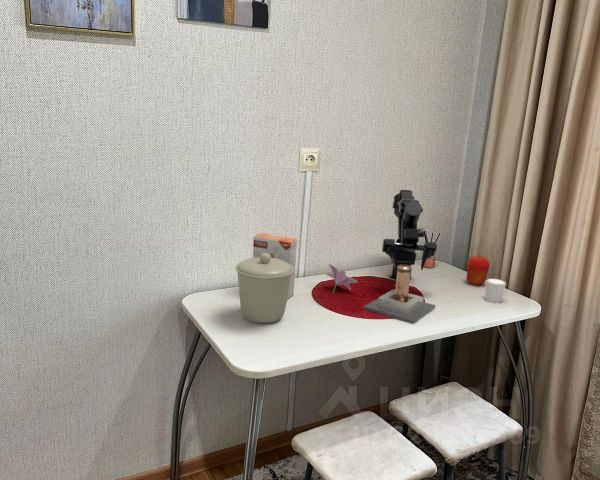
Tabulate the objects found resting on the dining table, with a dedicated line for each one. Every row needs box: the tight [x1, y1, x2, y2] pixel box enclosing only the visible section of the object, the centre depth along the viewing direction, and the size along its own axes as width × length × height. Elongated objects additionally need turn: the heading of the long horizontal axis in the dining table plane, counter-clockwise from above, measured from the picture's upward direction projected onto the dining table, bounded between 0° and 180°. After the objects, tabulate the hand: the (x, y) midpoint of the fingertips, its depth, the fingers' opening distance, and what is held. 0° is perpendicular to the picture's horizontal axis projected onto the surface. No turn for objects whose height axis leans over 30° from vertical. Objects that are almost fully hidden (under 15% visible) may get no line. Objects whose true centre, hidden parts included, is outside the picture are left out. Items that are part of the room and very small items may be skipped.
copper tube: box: [394, 265, 412, 303], centre depth 193 cm, size 4×4×14 cm
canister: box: [234, 253, 294, 324], centre depth 179 cm, size 18×18×21 cm
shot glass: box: [484, 278, 507, 303], centre depth 208 cm, size 7×7×7 cm
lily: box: [325, 263, 358, 294], centre depth 208 cm, size 12×12×10 cm
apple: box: [466, 254, 490, 286], centre depth 224 cm, size 9×8×12 cm
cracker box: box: [252, 232, 298, 301], centre depth 199 cm, size 14×6×21 cm, turn 68°
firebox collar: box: [363, 288, 436, 325], centre depth 195 cm, size 18×18×4 cm
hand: (408, 268), depth 202 cm, fingers open, 9 cm apart
